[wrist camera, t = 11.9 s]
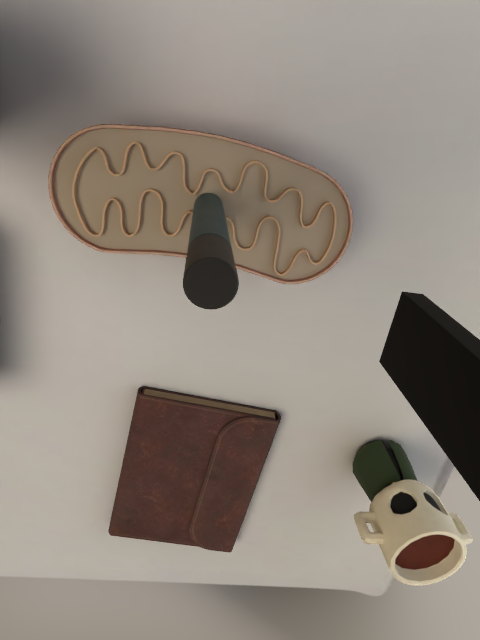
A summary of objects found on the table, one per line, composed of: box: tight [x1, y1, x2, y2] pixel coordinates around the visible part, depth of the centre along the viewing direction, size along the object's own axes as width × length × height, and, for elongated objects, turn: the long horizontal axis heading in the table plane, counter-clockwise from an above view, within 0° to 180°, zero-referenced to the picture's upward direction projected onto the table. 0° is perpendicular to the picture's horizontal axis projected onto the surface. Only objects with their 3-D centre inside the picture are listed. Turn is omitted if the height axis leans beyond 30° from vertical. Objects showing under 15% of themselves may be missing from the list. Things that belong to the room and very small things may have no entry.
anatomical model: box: [49, 124, 353, 284], centre depth 35 cm, size 23×10×5 cm, turn 78°
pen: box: [183, 193, 239, 309], centre depth 25 cm, size 2×2×17 cm
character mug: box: [353, 440, 473, 586], centre depth 45 cm, size 11×7×13 cm, turn 84°
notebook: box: [109, 386, 281, 552], centre depth 49 cm, size 15×20×2 cm
